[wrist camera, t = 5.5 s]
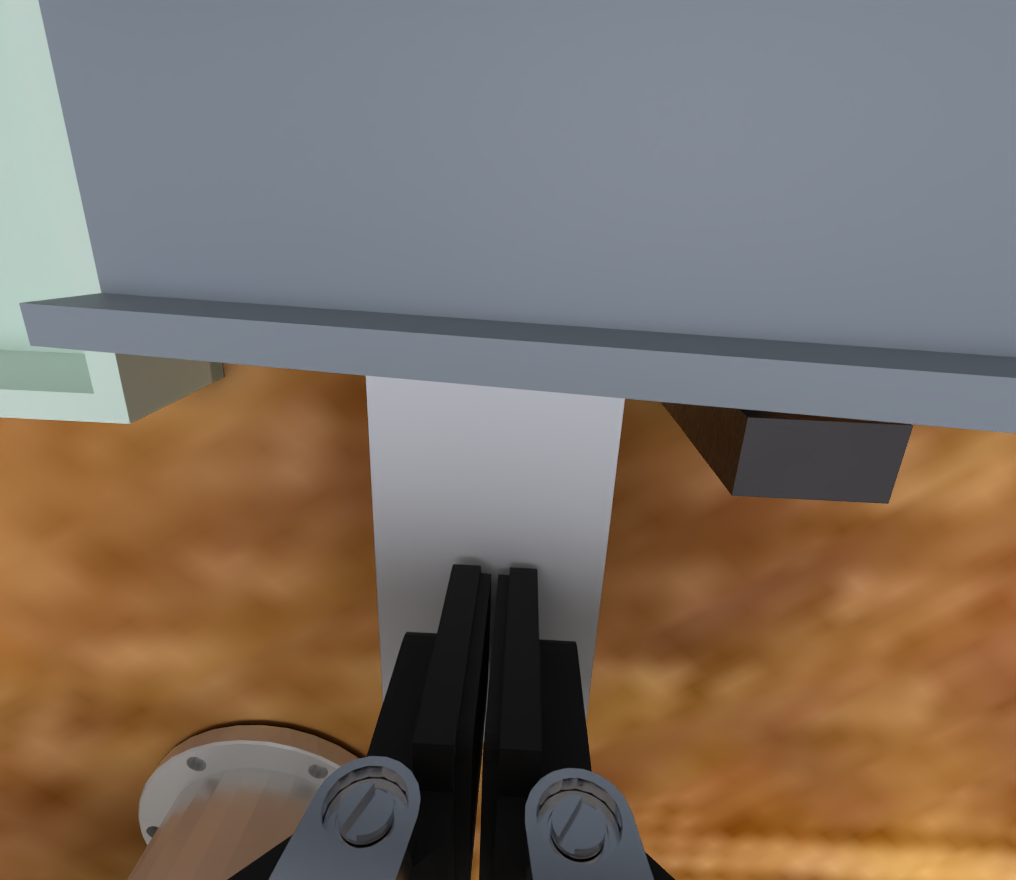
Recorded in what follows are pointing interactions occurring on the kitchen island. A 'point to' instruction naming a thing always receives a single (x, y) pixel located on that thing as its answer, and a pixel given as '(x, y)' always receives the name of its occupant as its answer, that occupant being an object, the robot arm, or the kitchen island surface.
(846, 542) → the kitchen island surface
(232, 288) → the lever
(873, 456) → the lever stand
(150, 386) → the bin
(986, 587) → the kitchen island surface
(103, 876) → the kitchen island surface
